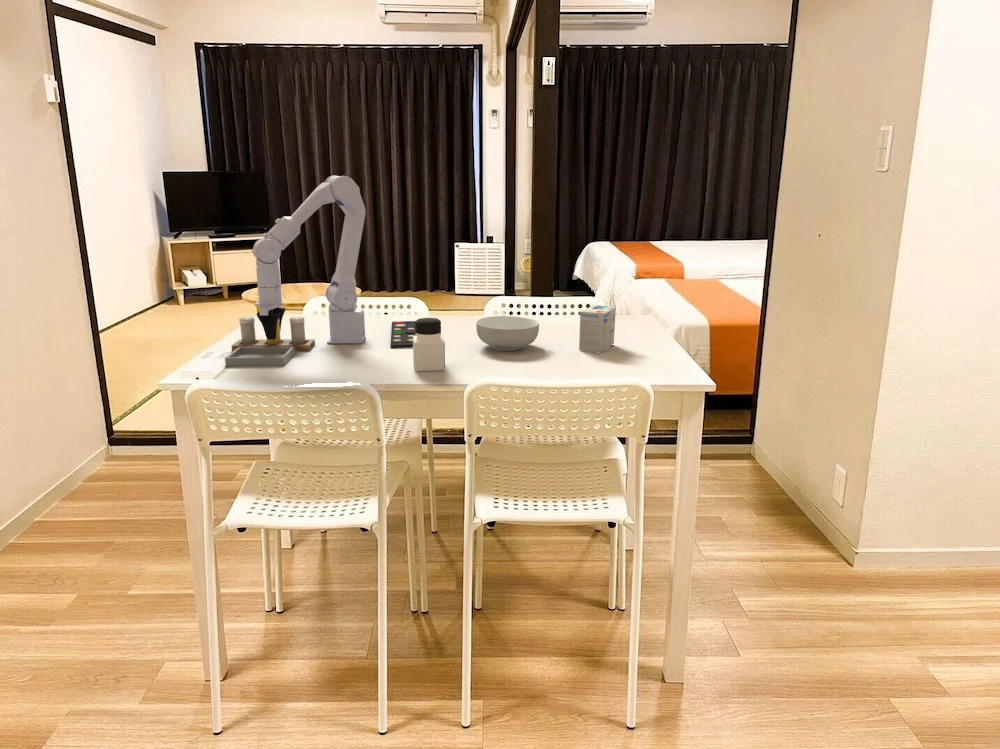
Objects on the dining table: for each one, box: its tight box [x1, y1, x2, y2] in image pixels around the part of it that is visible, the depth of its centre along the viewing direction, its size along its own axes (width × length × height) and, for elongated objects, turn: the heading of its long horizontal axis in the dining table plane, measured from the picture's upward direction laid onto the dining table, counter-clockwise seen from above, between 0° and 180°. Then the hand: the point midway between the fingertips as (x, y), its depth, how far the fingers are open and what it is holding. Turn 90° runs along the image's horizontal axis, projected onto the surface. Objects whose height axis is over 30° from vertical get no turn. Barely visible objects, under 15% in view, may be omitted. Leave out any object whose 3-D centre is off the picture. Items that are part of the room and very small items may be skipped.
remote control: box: [389, 320, 416, 349], centre depth 207 cm, size 11×30×2 cm, turn 7°
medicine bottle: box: [412, 316, 446, 373], centre depth 173 cm, size 7×7×12 cm
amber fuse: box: [266, 318, 282, 344], centre depth 191 cm, size 4×4×8 cm
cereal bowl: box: [475, 315, 540, 352], centre depth 193 cm, size 17×17×7 cm
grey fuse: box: [289, 316, 306, 344], centre depth 191 cm, size 4×4×8 cm
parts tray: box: [224, 347, 296, 367], centre depth 179 cm, size 14×11×2 cm
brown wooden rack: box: [231, 338, 316, 352], centre depth 191 cm, size 20×7×2 cm, turn 92°
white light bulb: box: [239, 316, 257, 344], centre depth 190 cm, size 4×4×8 cm
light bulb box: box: [578, 304, 617, 354], centre depth 193 cm, size 11×7×11 cm, turn 154°
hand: (273, 337), depth 191 cm, fingers closed on amber fuse, 3 cm apart
